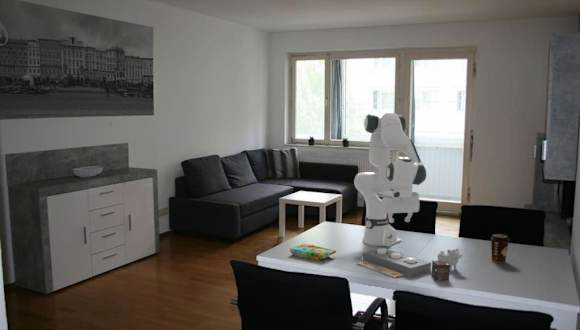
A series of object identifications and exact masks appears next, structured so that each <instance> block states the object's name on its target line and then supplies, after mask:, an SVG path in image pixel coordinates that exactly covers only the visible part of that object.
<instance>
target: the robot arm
mask: <svg viewBox="0 0 580 330" xmlns="http://www.w3.org/2000/svg"><path fill="white" fill-rule="evenodd" d="M363 127H364V130H365V132H367V133H369V134H371V135H370V139H369V140H370V141H369V148H368V161H369V163H370V164H371V165H372V166H374V167H376V168H377V170H378V172H371V171H366V172H365V171H364V172H358V173H357V174H356V175H355V177H354V179H353V183H354V187H355V189H356V190H357V191H358V192H360V194H361V195H362V197H363V198H364V201H365V208H366V209H365V210H366V211H365V212H366V215H365V218H364V220H365V222H364V223H365V226H364V231H363V237H362V243H364V244H366V245H368V246H369V245H370V246H379V247H380V246H381V247H382V246H383V247H390V246H393V245H395V244H398V243H400V242H401V241H402V239H401V238H399V237H398V234H397V230H396V229H395V228H394V227H393V226H391V224H393V223H395V218H393V215H394V214H402V213H403V214H405V213H407V216H406V217H404V222H406V223H409V222H410V221H411V218H412V216H413V213H418V212H419V211H420V194H419V193H418V192H417V191H415V192H413V185H417V186H419V185H421V184H422V183H424V182H425V180H427V169H426V167H425V165H424V163H423V161H422V160H421V158H420V156H419V154H418V151H417V148H416V146H415V144H414V141H413V140H412V139H411V138H410V137H408V136H407V135H406V133H405V131H406V127H407V122H406V118H405V117H404V116H403V115H401V114H397V113H396V112H392V111H387V112H385V113H375V112H374V113H368V114H367V115H366V116H365V118H364V123H363ZM390 149H393V150H396V151H398V152H401V153H402V154H404V155H405V156H403V155H402V156H398V157H396V159H395V161H394V162H390V161H391V160H390V158H391V157H390V152H391V150H390ZM378 194H382V195H383V197H382V198H380V197H379V196H378ZM389 223H390V224H389Z"/></svg>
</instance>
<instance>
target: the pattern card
mask: <svg viewBox="0 0 580 330" xmlns="http://www.w3.org/2000/svg"><path fill="white" fill-rule="evenodd" d="M356 265H358V266H361V267H364V268H366V269H370V270H371V269H372V271H373V272H374V271H375V272H377V273H380V274H383V275H386V276H388V277H391V278H393V279H397V278H399V277H404V276H405V275H404V274H402V273H399V272H396V271H394V270H391V269H388V268H385V267H382V266H379V265H376V264H373V263H371V262H368V261H364V260H362V261H360V262H356Z"/></svg>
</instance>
